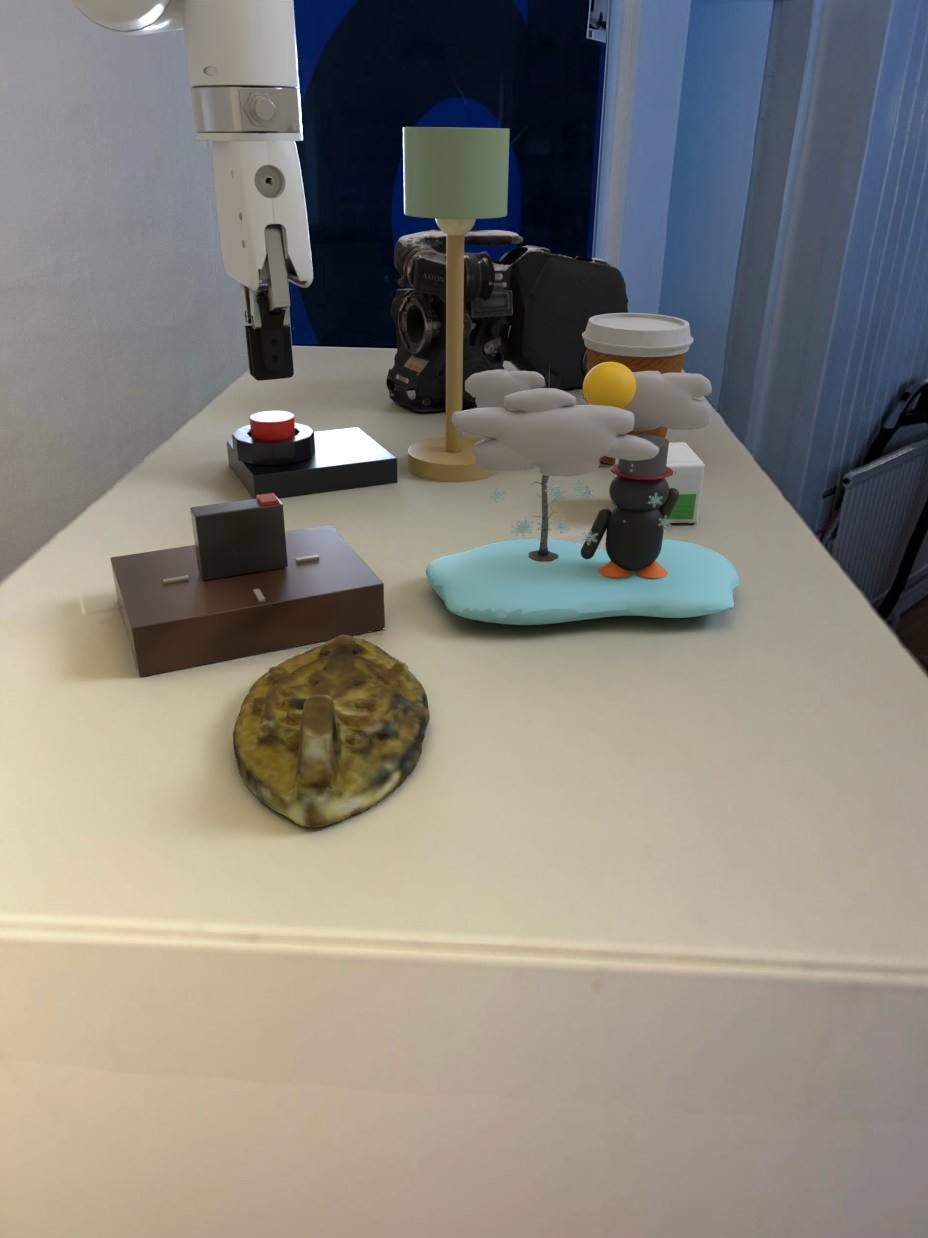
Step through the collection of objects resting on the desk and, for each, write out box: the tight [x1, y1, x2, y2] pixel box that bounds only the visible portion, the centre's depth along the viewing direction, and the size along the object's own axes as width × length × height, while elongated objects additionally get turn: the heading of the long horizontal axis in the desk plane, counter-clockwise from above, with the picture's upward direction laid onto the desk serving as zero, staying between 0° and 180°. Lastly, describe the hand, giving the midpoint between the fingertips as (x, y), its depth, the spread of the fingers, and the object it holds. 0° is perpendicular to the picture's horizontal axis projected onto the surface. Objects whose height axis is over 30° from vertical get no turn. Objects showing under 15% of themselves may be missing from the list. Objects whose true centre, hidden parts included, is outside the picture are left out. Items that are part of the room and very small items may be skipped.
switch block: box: [226, 422, 398, 500], centre depth 79 cm, size 12×10×4 cm
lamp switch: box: [249, 410, 296, 440], centre depth 77 cm, size 4×4×2 cm
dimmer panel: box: [109, 524, 386, 678], centre depth 56 cm, size 14×10×3 cm
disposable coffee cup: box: [582, 312, 694, 466], centre depth 83 cm, size 10×10×12 cm
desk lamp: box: [402, 126, 511, 483], centre depth 76 cm, size 8×8×26 cm
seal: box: [232, 635, 431, 828], centre depth 45 cm, size 9×5×15 cm
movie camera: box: [385, 228, 629, 413], centre depth 101 cm, size 31×18×18 cm, turn 120°
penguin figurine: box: [424, 362, 741, 626], centre depth 56 cm, size 20×11×15 cm, turn 93°
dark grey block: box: [189, 493, 288, 581], centre depth 54 cm, size 5×2×4 cm, turn 114°
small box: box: [613, 441, 706, 524], centre depth 72 cm, size 6×6×5 cm
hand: (272, 376), depth 75 cm, fingers closed
